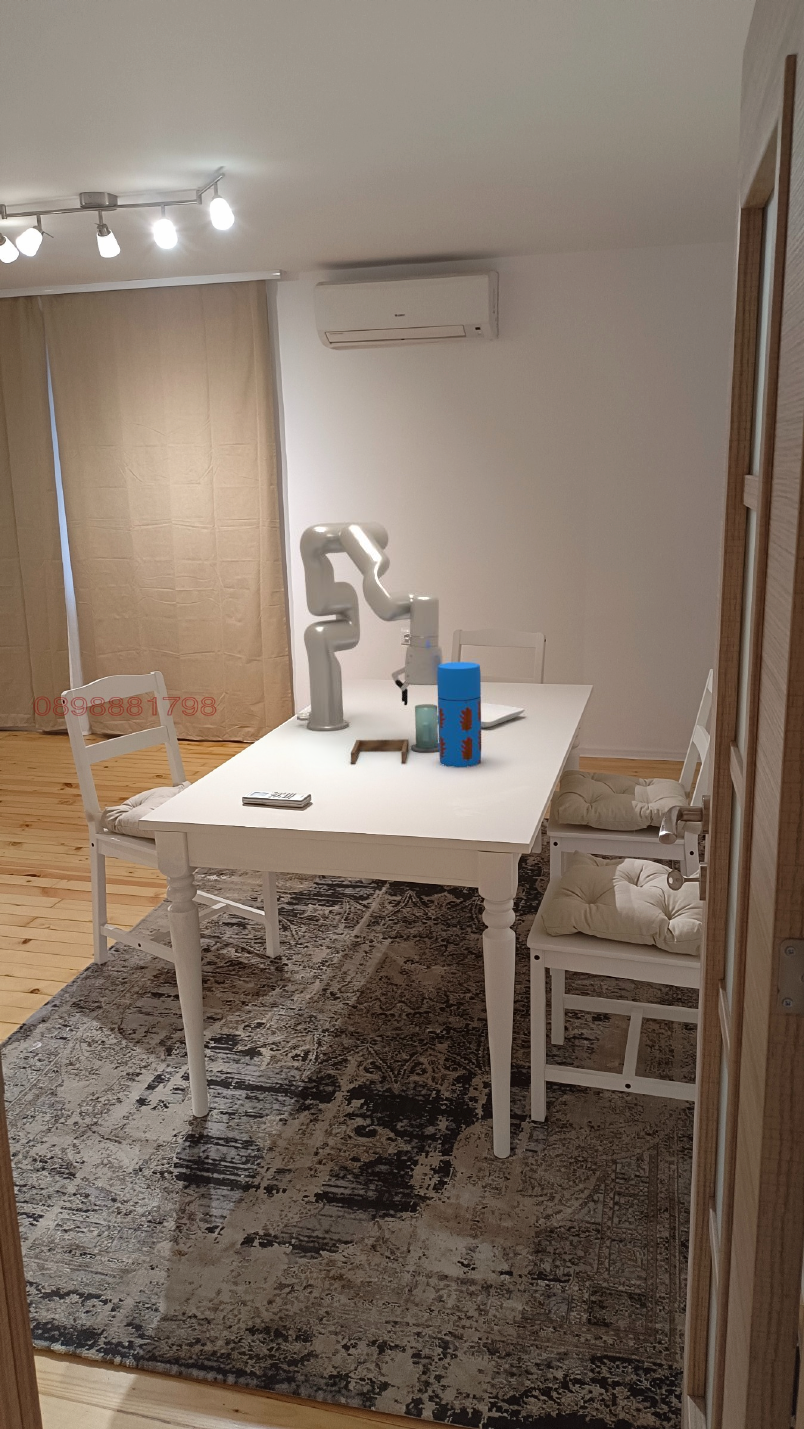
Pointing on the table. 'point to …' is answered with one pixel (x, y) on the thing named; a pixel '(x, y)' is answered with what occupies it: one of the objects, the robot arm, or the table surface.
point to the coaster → (424, 749)
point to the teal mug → (426, 726)
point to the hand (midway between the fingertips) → (423, 704)
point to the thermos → (459, 713)
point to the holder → (380, 747)
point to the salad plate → (497, 714)
